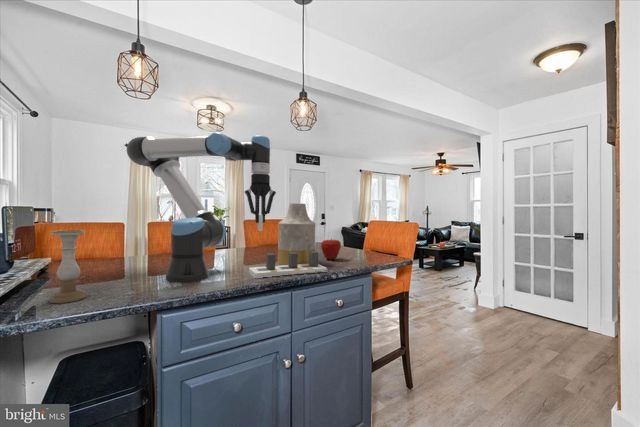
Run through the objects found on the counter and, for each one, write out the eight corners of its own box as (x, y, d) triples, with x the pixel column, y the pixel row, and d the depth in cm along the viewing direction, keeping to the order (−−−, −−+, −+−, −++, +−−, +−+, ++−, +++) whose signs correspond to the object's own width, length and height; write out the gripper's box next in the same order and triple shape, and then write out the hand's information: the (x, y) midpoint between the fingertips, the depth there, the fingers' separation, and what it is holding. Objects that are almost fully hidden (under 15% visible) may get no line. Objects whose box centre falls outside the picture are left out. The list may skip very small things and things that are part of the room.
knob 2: (290, 267, 128) (291, 253, 128) (288, 266, 131) (288, 252, 131) (297, 267, 129) (297, 253, 129) (294, 265, 133) (294, 252, 133)
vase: (308, 268, 138) (309, 203, 137) (271, 266, 143) (272, 202, 142) (318, 262, 156) (319, 204, 155) (286, 259, 160) (287, 203, 160)
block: (268, 269, 124) (268, 255, 124) (266, 267, 127) (266, 253, 127) (275, 268, 125) (275, 254, 125) (272, 267, 128) (273, 253, 128)
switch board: (254, 278, 117) (254, 272, 117) (248, 272, 128) (248, 266, 128) (327, 272, 131) (327, 267, 131) (316, 267, 142) (316, 262, 142)
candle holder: (44, 299, 87) (44, 230, 87) (81, 293, 94) (81, 229, 94) (54, 305, 82) (54, 232, 82) (92, 298, 89) (92, 231, 89)
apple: (331, 257, 170) (332, 236, 170) (344, 260, 162) (345, 238, 162) (316, 259, 163) (317, 237, 163) (329, 262, 155) (330, 239, 155)
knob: (312, 266, 132) (312, 252, 132) (309, 264, 136) (309, 251, 135) (318, 265, 134) (318, 252, 133) (315, 264, 137) (315, 251, 137)
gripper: (246, 172, 117) (245, 231, 118) (278, 174, 123) (277, 231, 123) (243, 174, 124) (242, 230, 124) (273, 175, 129) (272, 229, 130)
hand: (260, 230), depth 124 cm, fingers closed
